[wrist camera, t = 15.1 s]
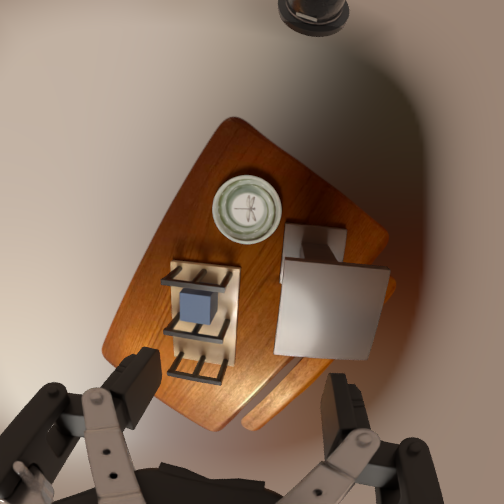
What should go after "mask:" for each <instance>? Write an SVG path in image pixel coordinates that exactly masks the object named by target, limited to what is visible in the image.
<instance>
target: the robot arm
mask: <svg viewBox="0 0 504 504" xmlns="http://www.w3.org/2000/svg"><path fill="white" fill-rule="evenodd" d="M344 2H345V0H286V8H287V10H288V12H289V13H290V15H291V16H292V17H294V18H295V19H296V20H298V21H300V22H302V23H305V24H308V25H313V26H324V25H329V24H331V23H333V22H335V21H336V20H338V19H339V17H340V16H341V13H342V10H343V5H344ZM161 380H162V370H161V361H160V352H159V350H158V349H153V348H149V347H142V349H141V350H140V351H139V352H138V354H137V355H135V354H131V355H130V356H128V357H126V358H124V359H123V361H122V362H121V363H120V364H119V366H118V367H117V368H116V369H115V371H114V372H113V373H112V374H111V375H110V376H109V377H108V379H107V380H106V381H105V382H104V384H103V385H102V386H101V387H100V388H91V389H89V390H87V391H85V393H84V394H83V395H82V394H73V393H67V390H66V387H65V386H64V385H62V384H61V383H56V382H52V383H48V384H46V385H44V386H43V387H42V388H41V389H40V390H39V391H38V392H37V393H36V395H35V396H34V397H33V398H32V399H31V400H30V401H29V403H28V404H27V405H26V406H25V407H24V408H23V409H22V410H21V412H20V413H19V414H18V415H17V416H16V417H15V419H14V420H13V421H12V422H11V423H10V424H9V426H8V427H7V428H6V429H5V430H4V432H3V433H2V434H1V435H0V504H339V503H340V502H341V501H342V500H343V498H344V497H345V496H346V495H347V493H348V492H349V491H350V490H351V488H352V487H353V486H354V485H355V483H359V484H364V485H369V486H374V487H375V492H376V503H377V504H444V501H443V497H442V493H441V489H440V486H439V482H438V478H437V475H436V471H435V468H434V464H433V461H432V457H431V454H430V451H429V448H428V446H427V444H426V443H425V442H424V441H422V440H421V439H419V438H414V437H413V438H412V437H411V438H406V439H404V440H403V441H402V442H401V443H400V444H394V443H388V442H384V441H381V440H380V438H379V436H378V435H377V434H376V433H375V432H374V431H372V430H371V428H370V424H369V421H368V416H367V413H366V409H365V407H364V406H365V405H364V401H363V398H362V395H361V391H360V390H359V389H358V388H357V387H356V385H355V384H348V383H347V379H346V375H345V374H343V373H329V374H328V377H327V380H326V384H325V387H324V391H323V394H322V398H321V407H320V408H321V420H322V431H323V442H324V455H325V461H324V462H323V461H321V462H320V463H319V464H318V465H317V466H316V467H315V468H314V469H313V470H312V471H311V472H310V473H309V474H308V475H307V476H306V477H304V478H303V479H302V480H301V482H299V483H298V484H297V485H296V486H295V487H294V488H293V489H292V490H291V491H290V492H288V493H287V494H286V495H285V496H284V497H283V496H282V495H280V494H278V493H276V492H274V491H272V490H269V489H266V488H264V486H265V482H264V481H255V480H246V479H239V478H238V479H208V478H206V477H204V476H201V475H199V474H197V473H194V472H192V471H190V470H188V469H185V468H181V467H178V466H173V465H170V464H166V463H163V462H161V464H160V466H159V468H146V469H139V470H135V468H134V465H133V462H132V459H131V456H130V453H129V451H128V448H127V444H126V441H125V438H124V435H123V431H124V429H125V428H129V429H132V430H134V429H135V427H136V425H137V424H138V422H139V420H140V418H141V417H142V415H143V413H144V412H145V410H146V408H147V406H148V405H149V403H150V401H151V400H152V398H153V396H154V395H155V393H156V391H157V389H158V388H159V386H160V384H161ZM52 425H53V426H52ZM49 429H50V430H49ZM47 432H48V433H47ZM80 437H84V438H85V443H86V448H87V453H88V458H89V463H90V467H91V472H92V476H93V480H94V483H95V487H94V488H92V489H89V490H86V491H84V492H81V493H78V494H76V495H72V496H69V497H66V498H63V499H60V500H57V501H54V502H53V497H54V489H53V487H52V483H53V482H54V480H55V478H56V477H57V475H58V473H59V471H60V470H61V468H62V467H63V465H64V463H65V462H66V460H67V458H68V457H69V455H70V453H71V452H72V450H73V449H74V447H75V445H76V444H77V442H78V441H79V439H80Z"/></svg>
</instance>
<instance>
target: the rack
mask: <svg viewBox="0 0 504 504" xmlns="http://www.w3.org/2000/svg"><path fill="white" fill-rule="evenodd" d="M240 273H241V267H233V266H223V265H214V264H205V263H196V262H187V261H179V260H172V261H171V272H170V273H169V274H168V275H167V276H165V277H164V278H162V279H161V285H167V286H171V301H172V321H171V322H170V323H169V324H168V326H167V327H166V328H164V330H163V333H164V335H169V336H173V343H174V356H175V357H176V359H175V360H174V362H173V364H172V365H171V367H170V369H168V371H167V375H168V376H172V377H177V378H182V379H187V380H192V381H197V382H202V383H208V384H214V385H220V386H221V385H222V381H223V378H224V374H225V371H226V368H227V366H234V365H235V354H236V337H237V321H238V304H239V288H240ZM200 282H204V283H200ZM208 283H212V284H208ZM216 284H218V285H216ZM183 288H188V289H196V290H203V291H211V292H218V308H217V312H216V314H215V316H214V318H213V320H212V322H211V324H210V325H205V324H198V323H192V322H185V321H180V296H179V293H180V291H181V290H182V289H183ZM182 358H185V359H191V360H196V361H198V363H197V365H196V367H195V370H194V372H193V374H189V373H184V372H179V371H175V370H176V369H177V367H178V365H179V363H180V362H181V360H182ZM204 362H208V363H214V364H221V367H220V370H219V373H218V376H217V378H211V377H205V376H200V375H199V373H200V371H201V369H202V367H203V364H204Z"/></svg>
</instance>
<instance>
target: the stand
mask: <svg viewBox="0 0 504 504" xmlns="http://www.w3.org/2000/svg"><path fill="white" fill-rule="evenodd" d="M346 236H347V229H345V228H336V227H327V226H318V225H309V224H299V223H289V222H285V231H284V241H283V251H282V261H281V270H280V280H279V283H282V286H281V295H280V304H279V312H278V320H277V328H276V336H275V343H274V352H273V354H275V355H285V356H296V357H309V358H325V359H345V360H368V357H369V353H370V350H371V347H372V343H373V340H374V337H375V333H376V330H377V326H378V322H379V318H380V314H381V311H382V307H383V302H384V298H385V294H386V289H387V285H388V280H389V276H390V269H389V268H388V267H385V266H375V265H365V264H355V263H345V262H343V257H344V250H345V243H346Z"/></svg>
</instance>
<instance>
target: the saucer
mask: <svg viewBox="0 0 504 504" xmlns="http://www.w3.org/2000/svg"><path fill="white" fill-rule="evenodd" d="M212 212H213V218H214V221H215V224H216V226H217V227H218V229H219V230H220V231H221V233H222V234H223V235H225V236H226V237H227V238H229V239H230V240H232V241H234V242H237V243H241V244H254V243H258V242H261V241H263V240H265V239H266V238H268V237H269V236H270V235H271V234H272V233H273V232H274V231H275V230H276V228H277V226H278V224H279V222H280V219H281V213H282V207H281V201H280V198H279V196H278V194H277V192H276V191H275V189H274V188H273V187H272V186H271V185H270V184H269V183H268V182H267V181H265V180H263V179H262V178H259V177H256V176H252V175H241V176H237V177H234V178H232V179H230V180H228V181H227V182H225V183H224V184H223V185H222V186H221V187H220V188H219V190H218V191H217V193H216V195H215V197H214V200H213V206H212Z"/></svg>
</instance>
